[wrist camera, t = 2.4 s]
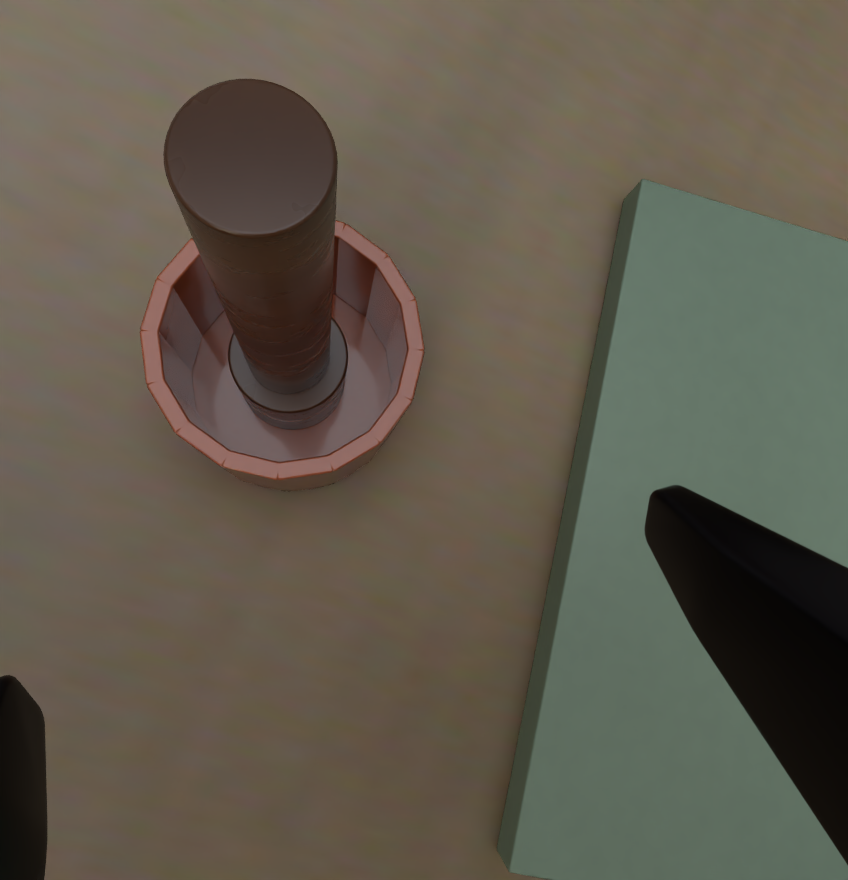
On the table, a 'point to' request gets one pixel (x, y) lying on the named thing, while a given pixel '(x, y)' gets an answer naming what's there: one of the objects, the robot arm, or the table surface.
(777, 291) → the board
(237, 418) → the cup
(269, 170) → the stirrer
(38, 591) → the table surface
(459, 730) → the table surface
